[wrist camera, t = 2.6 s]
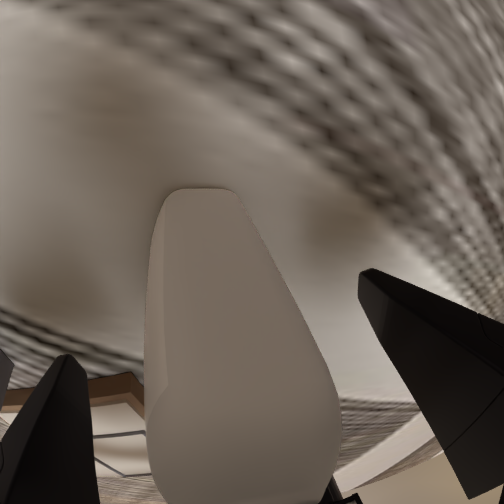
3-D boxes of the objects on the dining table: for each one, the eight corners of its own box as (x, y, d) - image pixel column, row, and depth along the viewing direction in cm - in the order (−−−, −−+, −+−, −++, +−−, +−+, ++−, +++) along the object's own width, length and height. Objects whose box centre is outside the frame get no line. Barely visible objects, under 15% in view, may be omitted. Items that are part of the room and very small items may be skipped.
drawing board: (204, 453, 19) (207, 469, 18) (88, 465, 18) (88, 479, 17) (131, 372, 13) (130, 397, 12) (-9, 391, 12) (-14, 410, 10)
